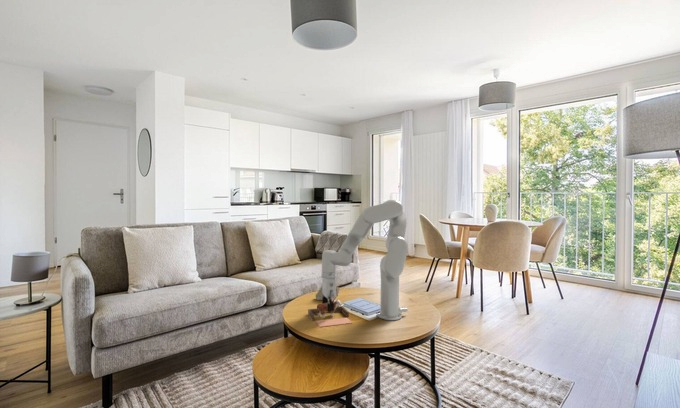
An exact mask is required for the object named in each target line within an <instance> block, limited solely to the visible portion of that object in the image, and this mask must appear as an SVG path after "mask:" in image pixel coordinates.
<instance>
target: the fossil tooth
mask: <svg viewBox="0 0 680 408" xmlns="http://www.w3.org/2000/svg"><path fill="white" fill-rule="evenodd" d="M340 290H341V289H340V287H338V286H337V285H336V298H334V300H335V301H336V300H337V298H338V296H339V293H340ZM322 295H323V293H322V287H320V289H319V290H318V292H317V293H316V294H315V299H316V301H319V300H321V301H322V297H323V296H322ZM329 300H330V299H329Z"/></svg>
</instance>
